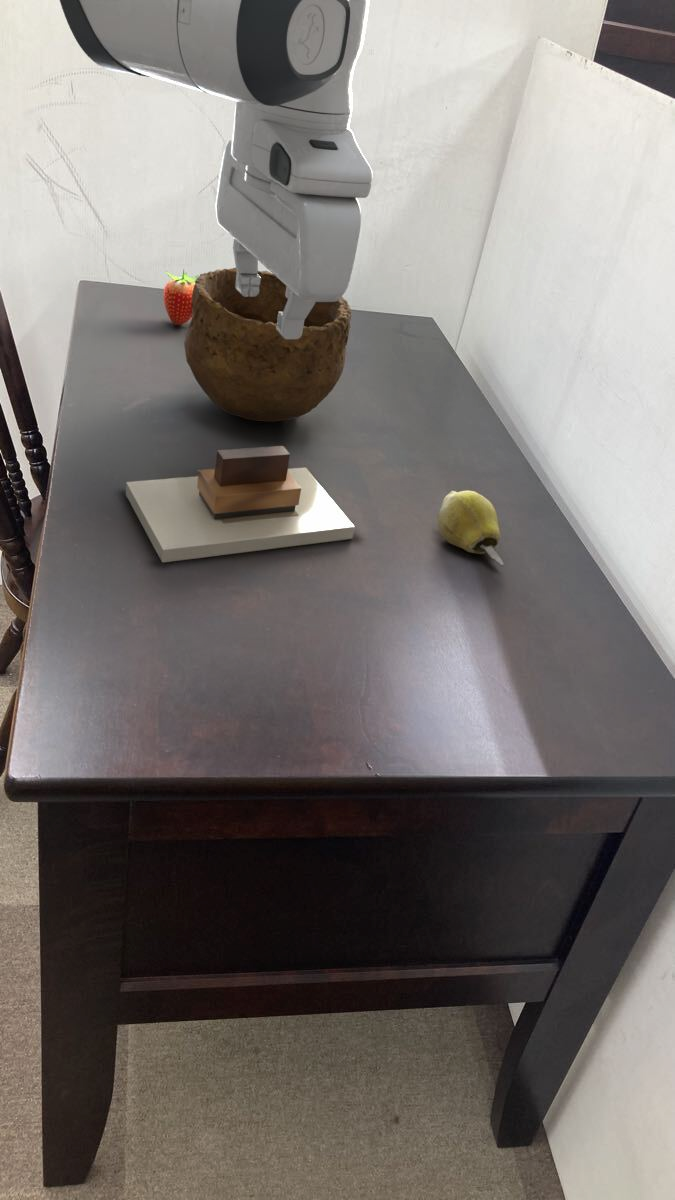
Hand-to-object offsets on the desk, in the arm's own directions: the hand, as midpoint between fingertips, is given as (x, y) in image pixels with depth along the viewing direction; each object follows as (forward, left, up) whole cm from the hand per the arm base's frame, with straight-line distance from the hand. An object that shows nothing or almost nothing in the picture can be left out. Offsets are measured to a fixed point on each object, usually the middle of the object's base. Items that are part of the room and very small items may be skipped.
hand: (266, 314), depth 78 cm
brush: (+1, 0, -19) cm, 19 cm away
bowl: (+11, +22, -21) cm, 32 cm away
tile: (0, 0, -21) cm, 21 cm away
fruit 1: (+10, +49, -21) cm, 54 cm away
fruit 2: (+22, -10, -21) cm, 32 cm away
